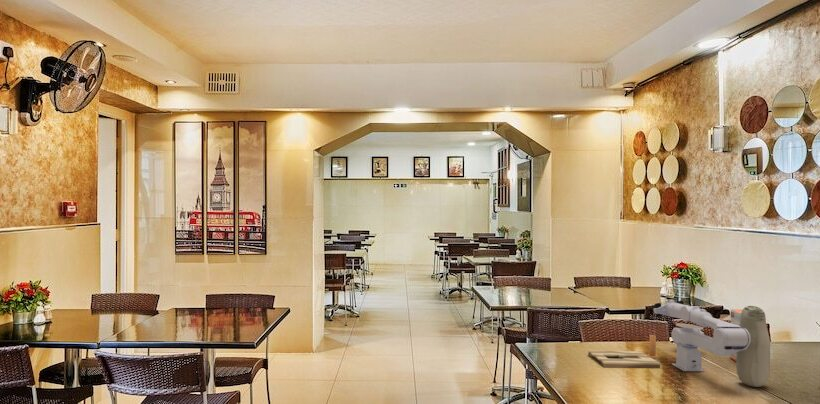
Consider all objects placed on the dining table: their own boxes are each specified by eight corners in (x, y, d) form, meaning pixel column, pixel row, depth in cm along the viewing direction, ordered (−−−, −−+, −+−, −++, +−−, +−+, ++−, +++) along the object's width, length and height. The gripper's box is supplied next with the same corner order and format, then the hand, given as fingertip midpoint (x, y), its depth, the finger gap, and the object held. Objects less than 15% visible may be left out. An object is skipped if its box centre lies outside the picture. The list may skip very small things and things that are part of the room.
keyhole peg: (660, 358, 231) (661, 336, 231) (649, 358, 231) (649, 336, 231) (655, 355, 236) (655, 334, 236) (644, 355, 236) (644, 334, 236)
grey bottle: (774, 391, 190) (775, 309, 190) (742, 388, 192) (742, 307, 192) (762, 382, 199) (763, 304, 200) (731, 380, 202) (732, 303, 202)
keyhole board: (660, 368, 216) (660, 362, 216) (604, 367, 216) (604, 362, 216) (639, 356, 234) (639, 351, 234) (588, 355, 234) (588, 350, 234)
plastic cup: (708, 356, 236) (708, 328, 236) (682, 355, 236) (682, 327, 237) (695, 349, 247) (695, 322, 247) (671, 349, 247) (671, 322, 247)
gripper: (694, 299, 225) (676, 295, 238) (660, 302, 224) (644, 299, 237) (696, 316, 224) (678, 312, 238) (662, 320, 223) (646, 315, 237)
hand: (661, 306), depth 237 cm, fingers open, 7 cm apart
